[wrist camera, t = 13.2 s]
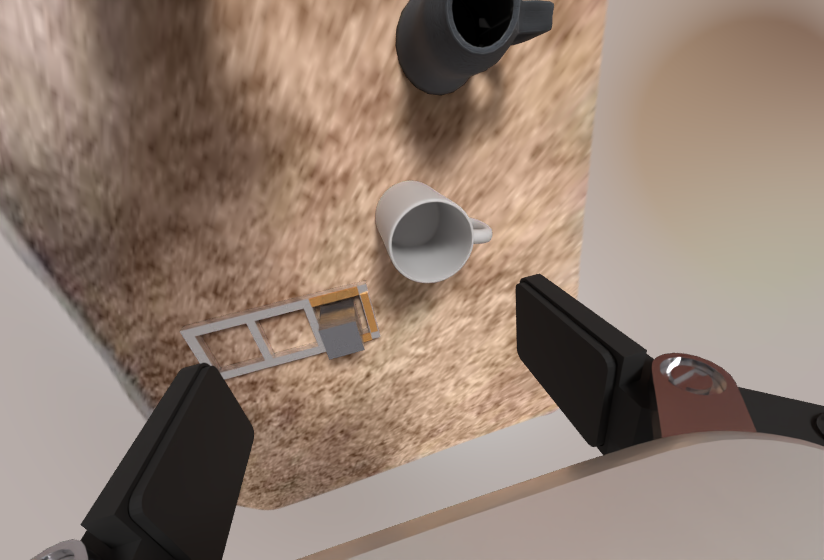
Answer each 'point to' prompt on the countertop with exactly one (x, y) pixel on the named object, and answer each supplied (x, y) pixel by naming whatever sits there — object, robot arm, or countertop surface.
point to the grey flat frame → (252, 320)
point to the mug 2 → (463, 37)
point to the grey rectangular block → (340, 328)
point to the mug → (426, 232)
